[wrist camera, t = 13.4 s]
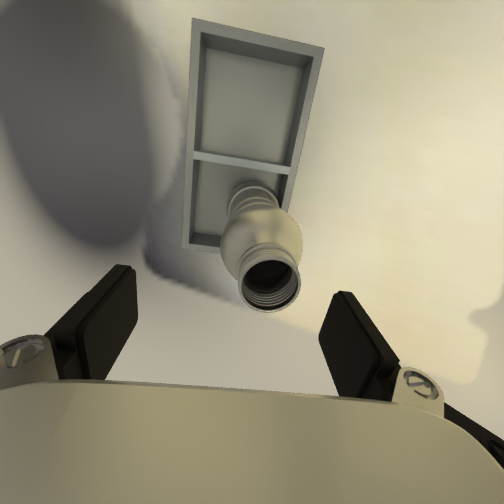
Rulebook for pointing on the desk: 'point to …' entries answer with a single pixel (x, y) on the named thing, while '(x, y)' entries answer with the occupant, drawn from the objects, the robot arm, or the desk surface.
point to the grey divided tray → (242, 121)
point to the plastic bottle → (261, 248)
